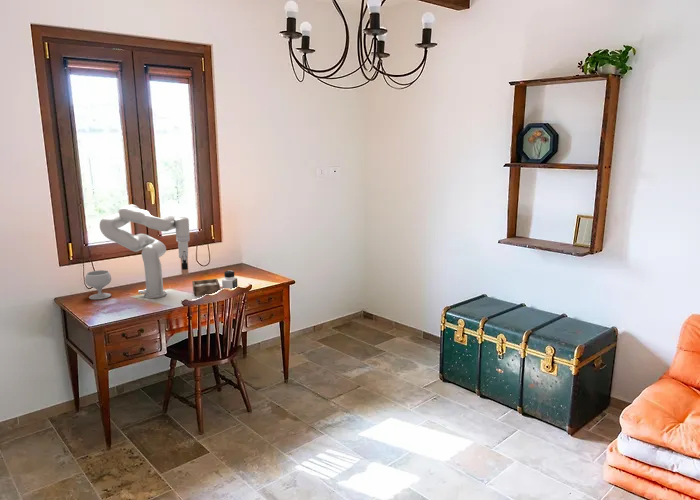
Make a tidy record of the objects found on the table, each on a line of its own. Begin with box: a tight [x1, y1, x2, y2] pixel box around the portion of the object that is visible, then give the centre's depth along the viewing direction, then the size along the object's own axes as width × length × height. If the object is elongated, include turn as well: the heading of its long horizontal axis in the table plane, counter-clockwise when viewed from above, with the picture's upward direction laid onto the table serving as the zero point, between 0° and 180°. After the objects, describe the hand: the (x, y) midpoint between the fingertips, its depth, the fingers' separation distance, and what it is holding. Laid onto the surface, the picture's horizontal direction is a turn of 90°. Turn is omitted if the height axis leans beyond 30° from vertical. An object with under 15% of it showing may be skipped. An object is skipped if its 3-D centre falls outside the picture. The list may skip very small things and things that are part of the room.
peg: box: [180, 257, 189, 276], centre depth 300 cm, size 4×4×12 cm
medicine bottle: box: [221, 270, 239, 289], centre depth 316 cm, size 7×7×12 cm
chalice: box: [84, 270, 112, 300], centre depth 301 cm, size 14×14×15 cm
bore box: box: [192, 278, 221, 297], centre depth 311 cm, size 15×14×6 cm
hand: (184, 268), depth 301 cm, fingers closed on peg, 4 cm apart
